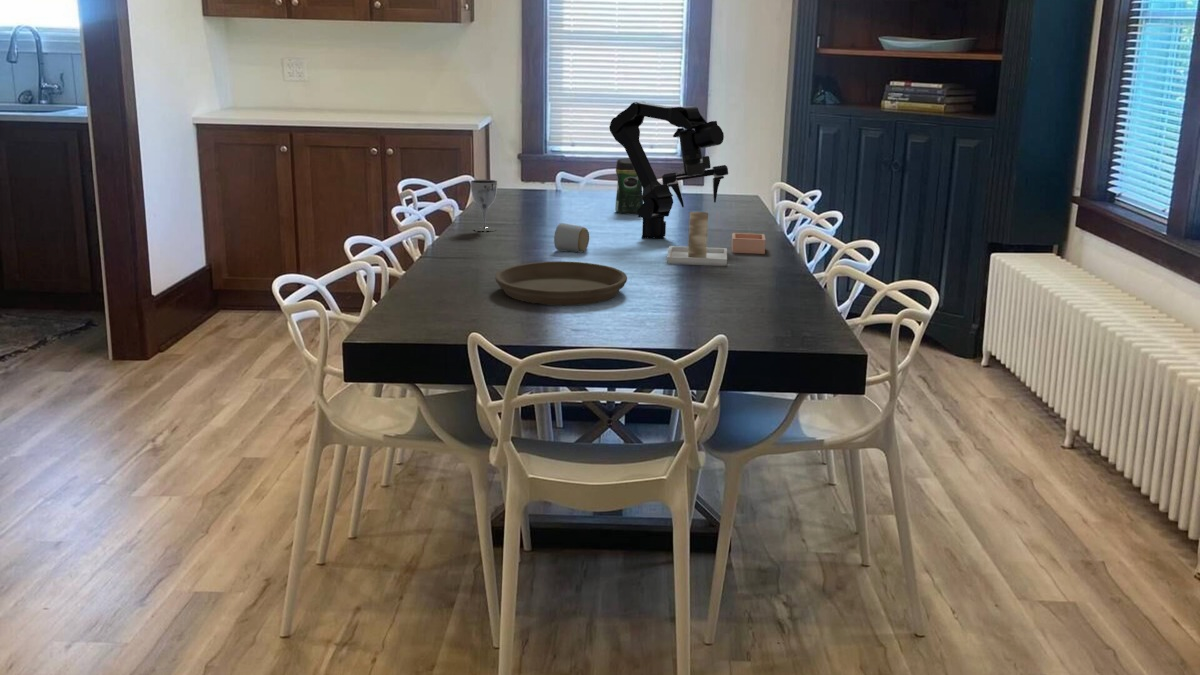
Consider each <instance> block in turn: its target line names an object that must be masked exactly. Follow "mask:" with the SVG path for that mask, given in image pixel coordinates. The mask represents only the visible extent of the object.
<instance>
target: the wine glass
mask: <svg viewBox="0 0 1200 675" xmlns="http://www.w3.org/2000/svg"><path fill="white" fill-rule="evenodd" d="M470 189H471V190H470V191H471V196H472V198H473V199H472V200H473V201H474V203H475V204H477V206H478V207H479V209H480V210H481V213H482V226H481V227H479V228H482V229H486V228H490V227H489V226H487V224H486V219H487V212H488V210H489V207H490V206H491V205H492V204H493V203H494V202H495V201H496V196H497V192H498V181H497V180H495V179H474V180H471V181H470Z"/></svg>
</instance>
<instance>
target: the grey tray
mask: <svg viewBox="0 0 1200 675" xmlns="http://www.w3.org/2000/svg"><path fill="white" fill-rule="evenodd" d="M727 264H728V248H727V247H707V254H706V258H693V257H688V246H679V245H678V246H677V245H675V246H672V245H669V247H668V250H667V254H666V265H689V266H690V265H691V266H711V267H712V266H713V267H714V266H715V267H720V266H721V267H727V266H728V265H727Z"/></svg>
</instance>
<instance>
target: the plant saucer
mask: <svg viewBox="0 0 1200 675" xmlns="http://www.w3.org/2000/svg"><path fill="white" fill-rule="evenodd" d="M494 278H495V282H496V283H497V285H498V286H499V288H500V289H502V290H504V293H505V294H506V295H507V296H508V297H509V296H510V297H509V298H511V297H512V298H511V299H513V298H515V299H514V300H516V299H518V300H517V301H519V300H523V301H527V302H526V303H529V302H533V303H532V304H535V303H542V304H541V305H545V304H552V305H551V306H578V305H579V306H582V305H590V304H597V303H601V302H604V301H605V302H606V301H609V300H611V299H613V298H614V297H616V296H617V294H618V293H619V291H620V290H622V289H623V287H625V284H626V283H627V281H628V276H627V274H626V273H625V272H624V271H623V270H620V269H617V268H615V267H612V266H608V265H603V264H598V263H589V262H584V261H583V262H581V261H565V260H564V261H557V260H556V261H539V262H536V261H535V262H529V263H528V262H527V263H521V264H516V265H512V266H508V267H506V268H502V269H501V270H499V271H497V272H496V274H495V275H494ZM523 301H522V302H523Z"/></svg>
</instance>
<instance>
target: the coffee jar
mask: <svg viewBox="0 0 1200 675" xmlns="http://www.w3.org/2000/svg"><path fill="white" fill-rule="evenodd" d="M615 174H616V176H617V186H616V197H615V212H616V213H618V214H624V215H638V212H637V210H638V209H639V208H640V207H641V206H642V204H643V203H644V202H643V199H642V195H643V187H642V185H641V183H640V181H639V178H638V176H637V174H636V172H635V170H634V168H633V165H632V163H631V161H630V159H629V157H624V158H618V159H617V161H616V167H615Z"/></svg>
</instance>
